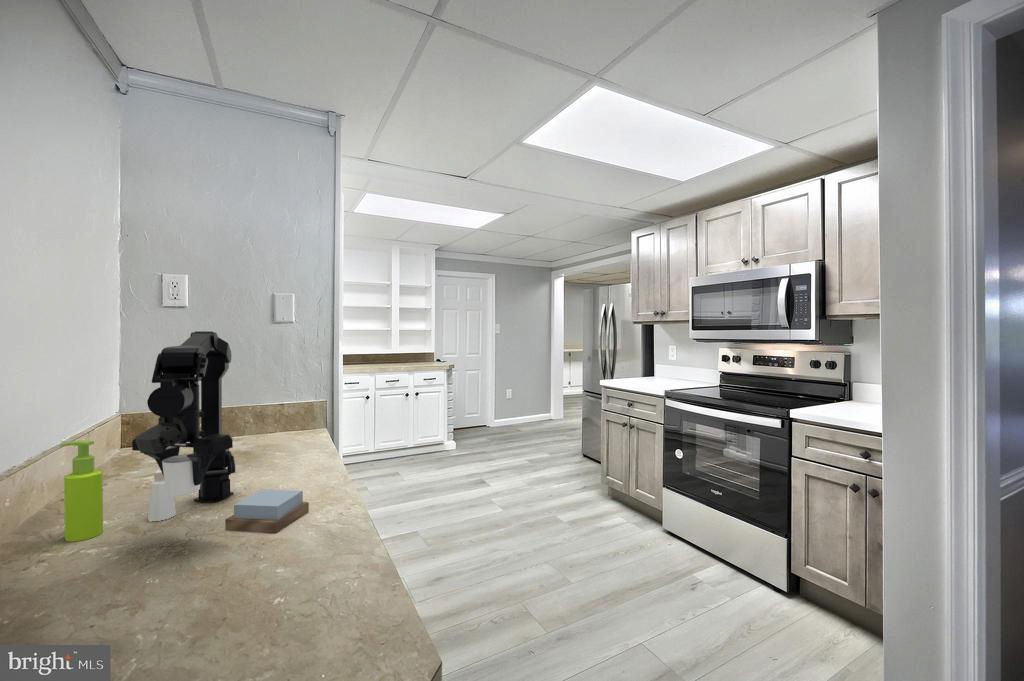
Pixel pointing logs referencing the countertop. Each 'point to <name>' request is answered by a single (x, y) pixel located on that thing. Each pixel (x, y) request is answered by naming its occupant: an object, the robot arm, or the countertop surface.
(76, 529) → the soap dispenser
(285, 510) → the tower top
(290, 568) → the countertop surface
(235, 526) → the tower base
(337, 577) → the countertop surface
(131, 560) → the countertop surface
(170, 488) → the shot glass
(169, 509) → the pepper shaker
